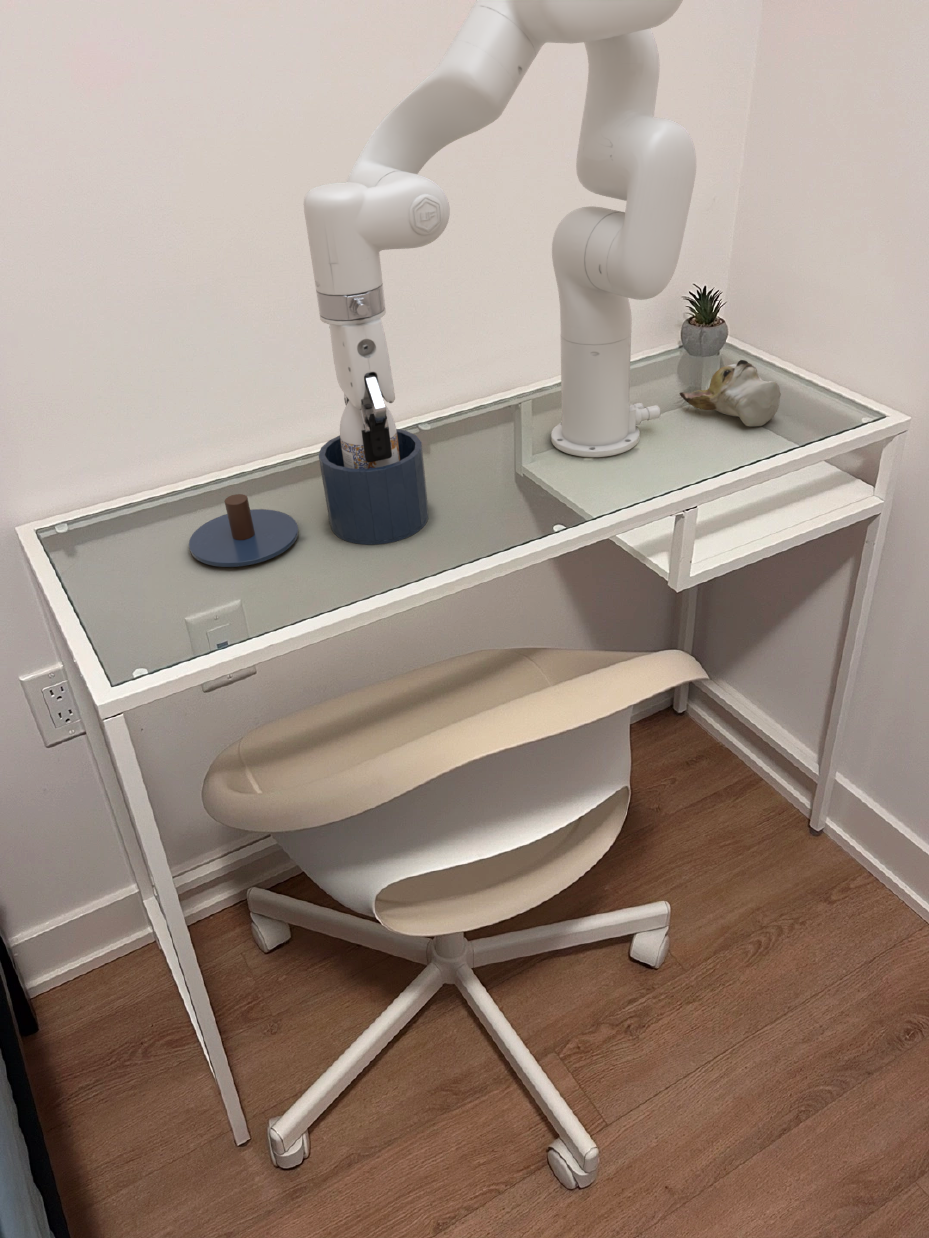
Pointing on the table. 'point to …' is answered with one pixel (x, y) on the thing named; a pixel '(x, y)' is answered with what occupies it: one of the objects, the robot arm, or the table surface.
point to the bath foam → (354, 441)
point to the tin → (375, 494)
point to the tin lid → (243, 535)
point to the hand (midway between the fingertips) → (370, 446)
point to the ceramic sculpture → (738, 394)
